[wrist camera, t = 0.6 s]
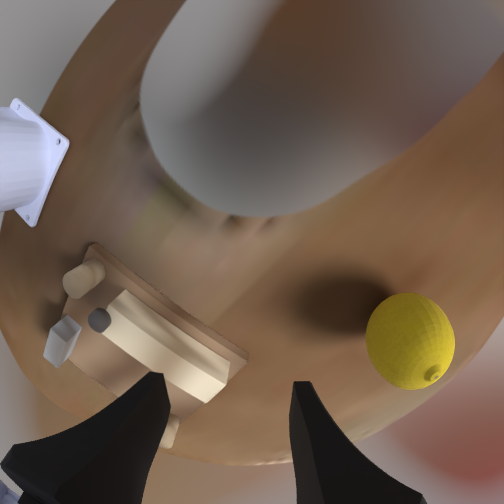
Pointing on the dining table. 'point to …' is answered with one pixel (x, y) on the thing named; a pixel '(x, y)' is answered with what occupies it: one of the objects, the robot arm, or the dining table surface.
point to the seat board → (108, 353)
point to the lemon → (410, 341)
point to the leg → (161, 346)
